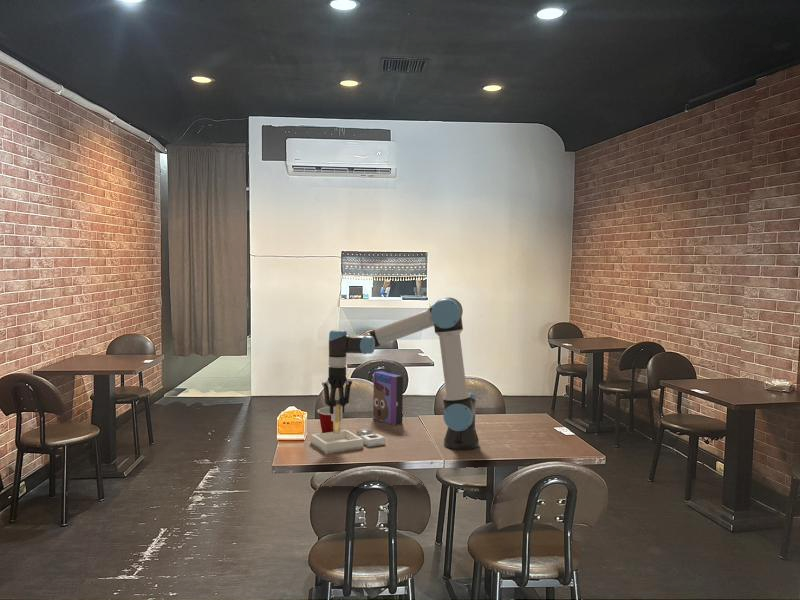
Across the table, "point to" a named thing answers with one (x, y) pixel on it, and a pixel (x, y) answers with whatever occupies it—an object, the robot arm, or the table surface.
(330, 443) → the tray
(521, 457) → the table surface
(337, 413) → the lock pin
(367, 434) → the bracket
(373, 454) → the table surface
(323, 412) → the plastic cup
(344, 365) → the robot arm
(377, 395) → the cereal box
